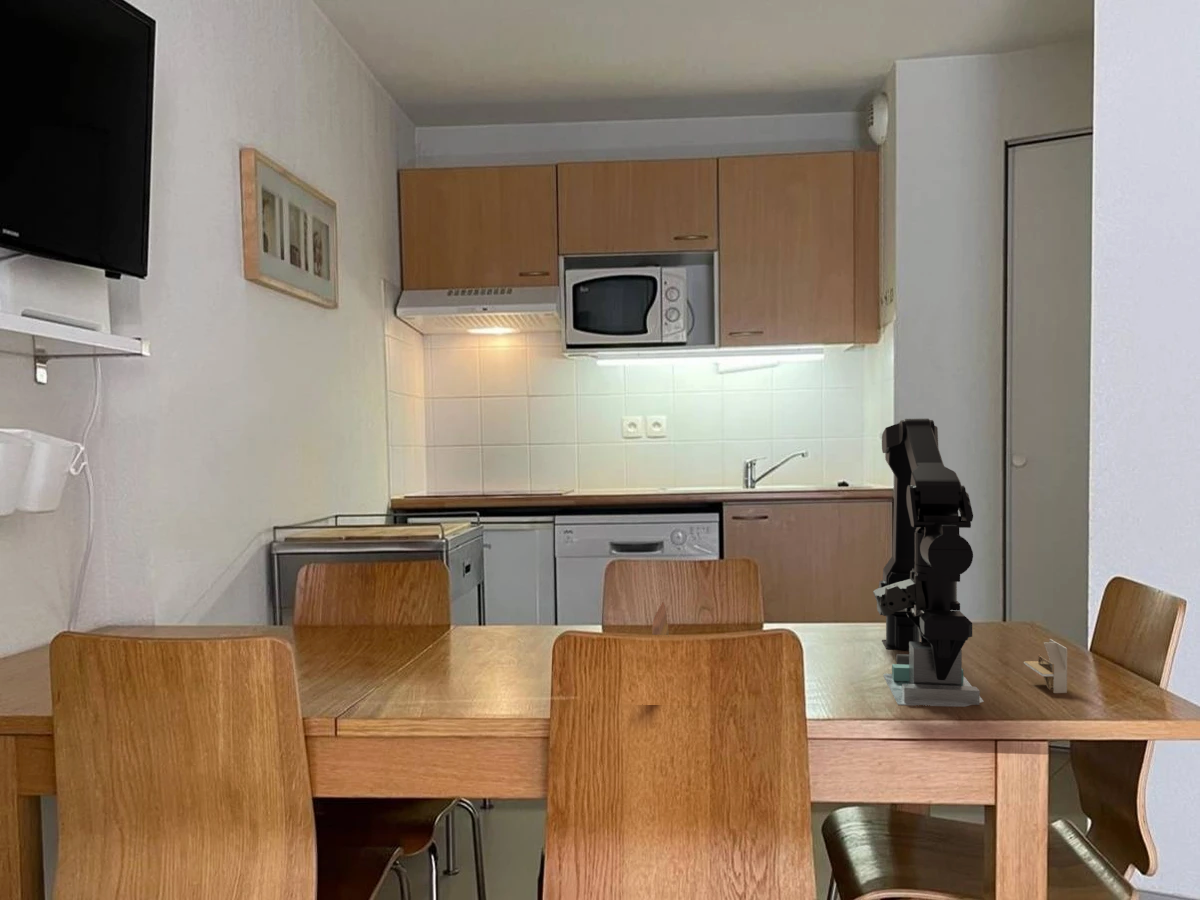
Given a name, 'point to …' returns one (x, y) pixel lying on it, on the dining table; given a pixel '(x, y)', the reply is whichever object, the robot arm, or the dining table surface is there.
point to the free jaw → (903, 668)
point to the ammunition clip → (660, 621)
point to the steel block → (930, 666)
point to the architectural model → (1052, 667)
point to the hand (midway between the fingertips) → (935, 671)
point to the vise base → (933, 693)
